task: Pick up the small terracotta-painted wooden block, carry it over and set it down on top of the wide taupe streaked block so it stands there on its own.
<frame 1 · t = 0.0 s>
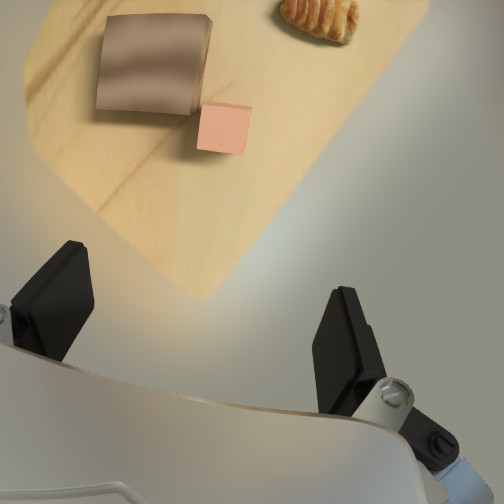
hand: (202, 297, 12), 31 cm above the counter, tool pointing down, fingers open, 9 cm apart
pastry: (323, 18, 31), on the counter
terracotta block: (228, 123, 38), on the counter
taupe streaked block: (159, 63, 34), on the counter
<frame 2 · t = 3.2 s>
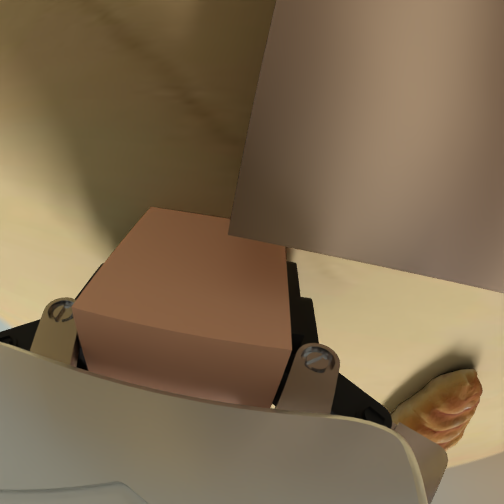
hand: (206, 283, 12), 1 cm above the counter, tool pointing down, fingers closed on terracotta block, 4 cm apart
pastry: (419, 409, 18), on the counter
terracotta block: (209, 273, 13), on the counter, touching gripper
taupe streaked block: (440, 64, 9), on the counter
when the fingers open (7 cm above the counter, at t = 8.5 s): terracotta block drops 2 cm, resting on taupe streaked block.
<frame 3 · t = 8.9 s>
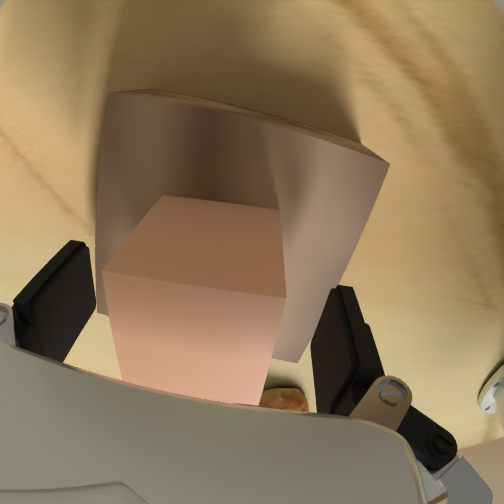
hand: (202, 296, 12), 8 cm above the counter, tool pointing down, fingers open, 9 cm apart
pastry: (274, 411, 29), on the counter
terracotta block: (215, 253, 15), point 5 cm above the counter, touching taupe streaked block
taupe streaked block: (228, 209, 19), on the counter, touching terracotta block
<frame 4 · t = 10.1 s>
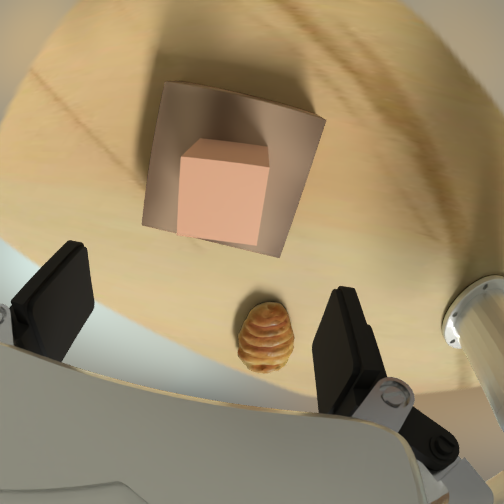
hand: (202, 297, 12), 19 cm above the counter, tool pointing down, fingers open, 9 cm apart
pastry: (264, 331, 39), on the counter
terracotta block: (229, 174, 24), point 5 cm above the counter
taupe streaked block: (231, 158, 28), on the counter
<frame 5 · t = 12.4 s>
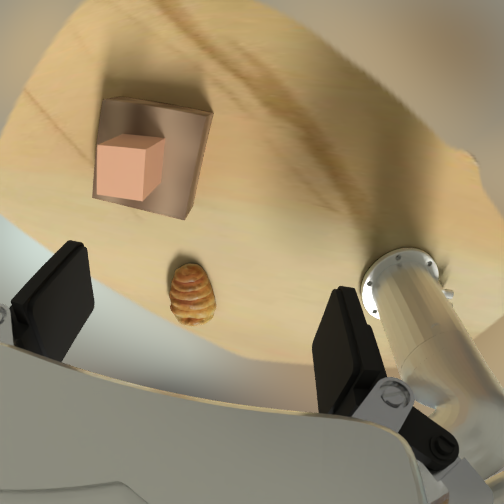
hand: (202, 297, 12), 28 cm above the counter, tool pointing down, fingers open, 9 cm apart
pastry: (192, 291, 47), on the counter
terracotta block: (141, 157, 33), point 5 cm above the counter, touching taupe streaked block
taupe streaked block: (156, 149, 37), on the counter, touching terracotta block
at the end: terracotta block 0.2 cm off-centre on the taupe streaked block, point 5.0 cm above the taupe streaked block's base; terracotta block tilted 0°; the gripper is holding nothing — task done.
